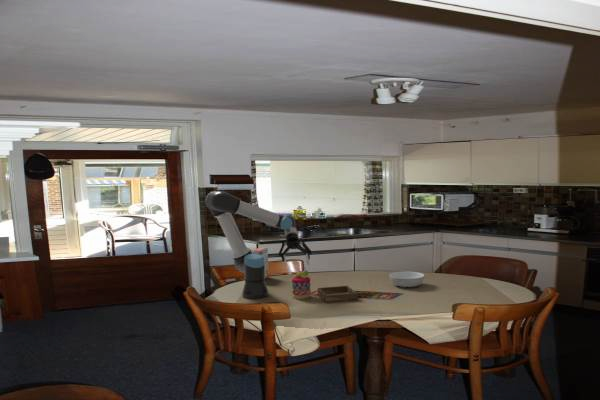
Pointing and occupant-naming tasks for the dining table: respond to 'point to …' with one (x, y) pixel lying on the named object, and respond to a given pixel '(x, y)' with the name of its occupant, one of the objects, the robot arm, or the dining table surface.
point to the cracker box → (264, 253)
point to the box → (337, 294)
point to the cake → (301, 286)
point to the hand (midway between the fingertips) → (297, 264)
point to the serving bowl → (407, 278)
